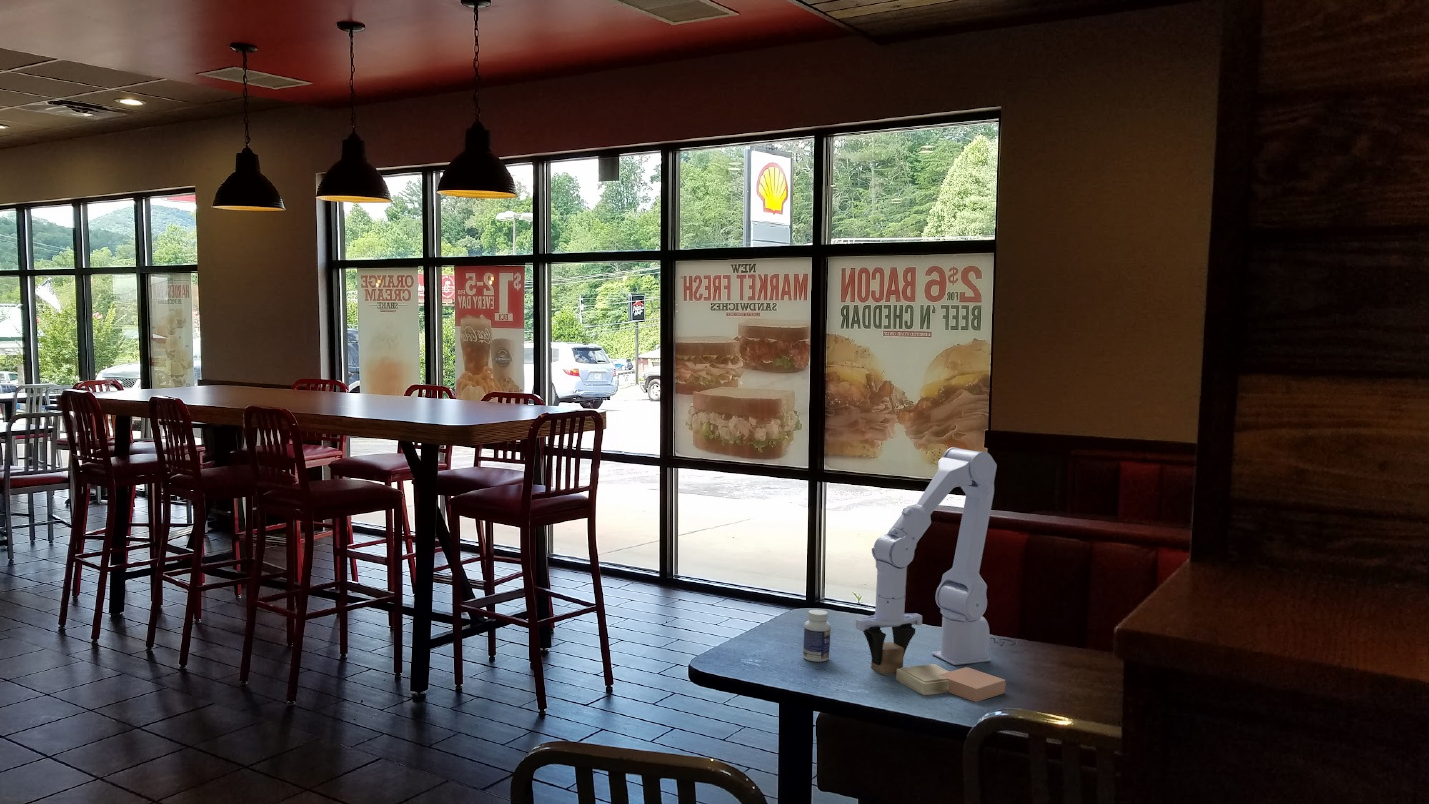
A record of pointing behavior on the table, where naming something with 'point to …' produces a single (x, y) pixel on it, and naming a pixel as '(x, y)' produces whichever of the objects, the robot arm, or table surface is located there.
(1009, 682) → the table surface
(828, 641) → the pill bottle
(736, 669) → the table surface
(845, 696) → the table surface
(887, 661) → the walnut block
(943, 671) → the birch plinth
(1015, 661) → the table surface
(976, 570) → the robot arm
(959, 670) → the salmon pink slab
